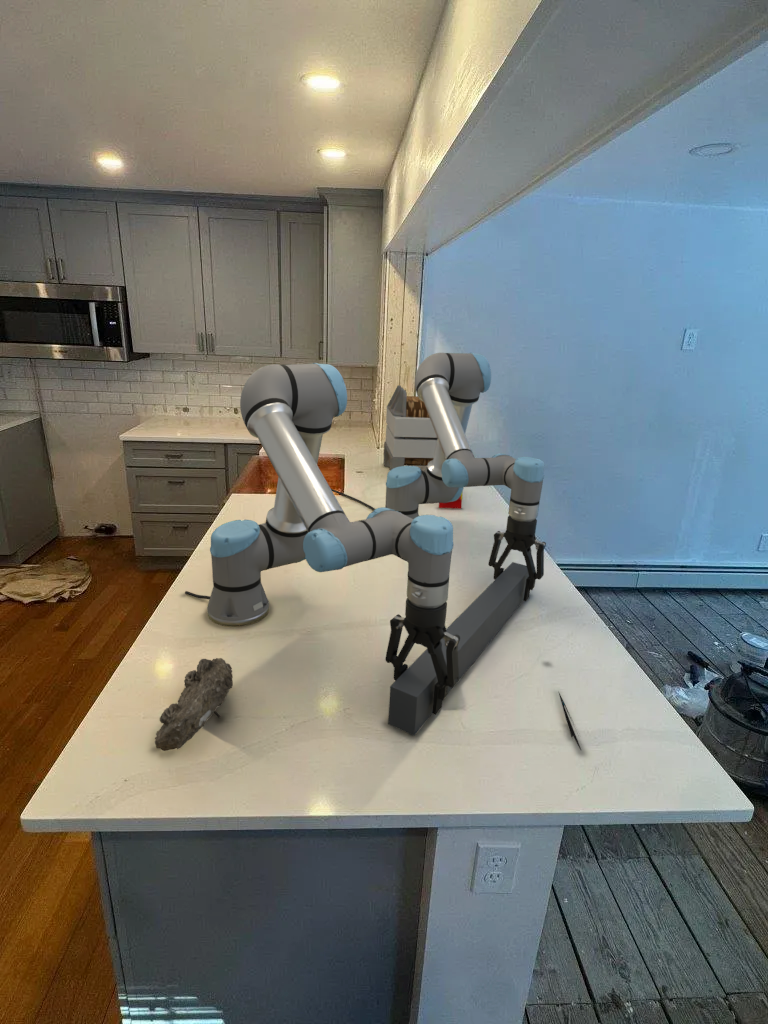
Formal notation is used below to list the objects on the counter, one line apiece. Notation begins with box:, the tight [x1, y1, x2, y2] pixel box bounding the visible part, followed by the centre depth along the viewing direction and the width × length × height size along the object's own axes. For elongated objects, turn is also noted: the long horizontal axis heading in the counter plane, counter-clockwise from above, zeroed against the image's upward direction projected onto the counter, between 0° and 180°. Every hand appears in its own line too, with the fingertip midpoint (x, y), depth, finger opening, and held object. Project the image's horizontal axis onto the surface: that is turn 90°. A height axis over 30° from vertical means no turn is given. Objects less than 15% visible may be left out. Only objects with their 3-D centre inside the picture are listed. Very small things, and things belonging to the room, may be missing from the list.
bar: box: [387, 561, 529, 737], centre depth 133 cm, size 68×6×9 cm, turn 149°
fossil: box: [154, 657, 234, 752], centre depth 107 cm, size 22×10×15 cm
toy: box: [438, 490, 464, 510], centre depth 239 cm, size 12×13×30 cm
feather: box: [546, 662, 582, 751], centre depth 116 cm, size 2×28×2 cm
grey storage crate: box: [383, 384, 438, 471], centre depth 268 cm, size 34×33×41 cm
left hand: (418, 702), depth 111 cm, fingers open, 7 cm apart
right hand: (512, 594), depth 156 cm, fingers open, 7 cm apart
